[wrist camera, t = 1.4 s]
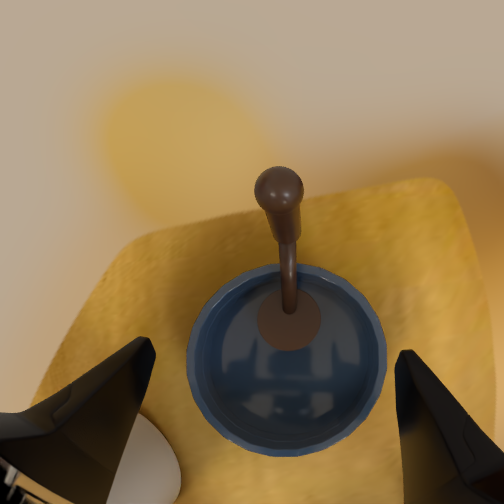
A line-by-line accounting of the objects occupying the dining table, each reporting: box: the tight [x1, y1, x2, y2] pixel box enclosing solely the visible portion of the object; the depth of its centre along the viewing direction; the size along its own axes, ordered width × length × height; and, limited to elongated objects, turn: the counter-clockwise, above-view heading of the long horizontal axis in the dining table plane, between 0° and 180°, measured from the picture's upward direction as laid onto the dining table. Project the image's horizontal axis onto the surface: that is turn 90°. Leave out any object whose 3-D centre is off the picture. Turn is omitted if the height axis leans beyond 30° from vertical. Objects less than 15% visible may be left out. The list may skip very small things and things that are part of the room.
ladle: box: [254, 166, 321, 351], centre depth 16 cm, size 8×4×12 cm, turn 177°
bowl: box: [187, 263, 387, 457], centre depth 19 cm, size 13×13×4 cm
